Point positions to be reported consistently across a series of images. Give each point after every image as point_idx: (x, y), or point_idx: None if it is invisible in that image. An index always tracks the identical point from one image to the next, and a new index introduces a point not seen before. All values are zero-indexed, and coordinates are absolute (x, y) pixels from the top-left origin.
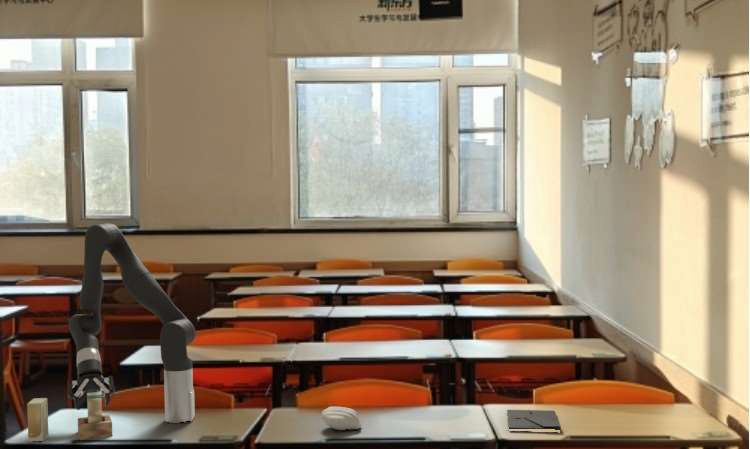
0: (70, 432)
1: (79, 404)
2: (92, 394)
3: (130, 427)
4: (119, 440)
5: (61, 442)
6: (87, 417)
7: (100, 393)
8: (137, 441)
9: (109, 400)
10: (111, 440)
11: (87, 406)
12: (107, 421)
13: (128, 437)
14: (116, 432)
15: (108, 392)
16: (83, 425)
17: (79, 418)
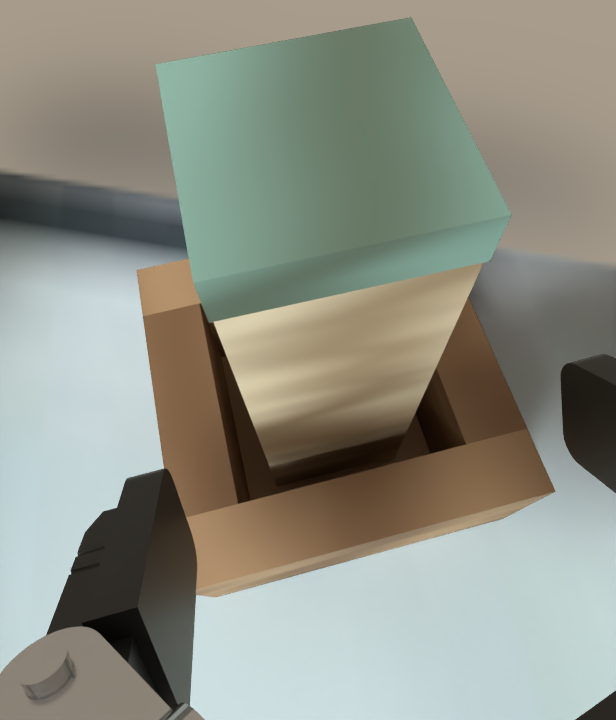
0: (573, 518)
1: (590, 371)
2: (343, 94)
3: (10, 572)
4: (119, 227)
5: (532, 253)
6: (437, 499)
7: (182, 134)
8: (3, 189)
9: (92, 539)
10: (174, 236)
11: (440, 355)
12: (181, 290)
13: (54, 279)
14: (142, 427)
15: (33, 652)
16: None
17: (525, 469)
